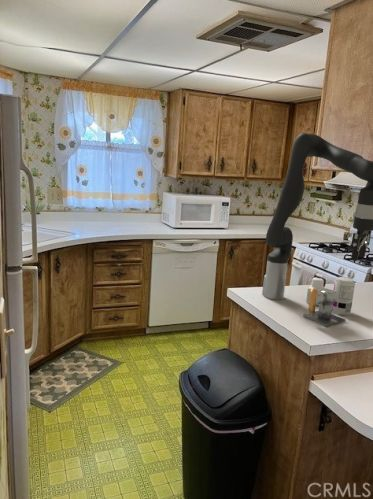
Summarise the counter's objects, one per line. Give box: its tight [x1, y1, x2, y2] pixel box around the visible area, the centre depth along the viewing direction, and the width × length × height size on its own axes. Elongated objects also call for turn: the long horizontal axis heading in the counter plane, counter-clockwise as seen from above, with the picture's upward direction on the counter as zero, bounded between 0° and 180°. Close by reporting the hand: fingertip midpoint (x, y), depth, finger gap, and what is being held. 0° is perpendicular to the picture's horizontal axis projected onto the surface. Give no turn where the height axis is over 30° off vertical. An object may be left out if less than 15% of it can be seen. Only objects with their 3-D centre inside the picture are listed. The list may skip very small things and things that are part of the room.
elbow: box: [307, 288, 336, 314], centre depth 163 cm, size 14×6×9 cm, turn 125°
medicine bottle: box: [306, 276, 328, 307], centre depth 186 cm, size 7×7×12 cm
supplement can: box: [332, 276, 356, 316], centre depth 175 cm, size 8×8×15 cm
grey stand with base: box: [302, 303, 347, 328], centre depth 166 cm, size 12×12×8 cm
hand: (357, 258), depth 154 cm, fingers open, 8 cm apart
